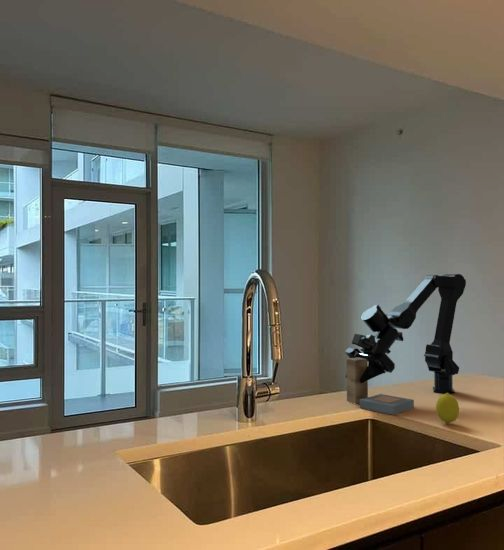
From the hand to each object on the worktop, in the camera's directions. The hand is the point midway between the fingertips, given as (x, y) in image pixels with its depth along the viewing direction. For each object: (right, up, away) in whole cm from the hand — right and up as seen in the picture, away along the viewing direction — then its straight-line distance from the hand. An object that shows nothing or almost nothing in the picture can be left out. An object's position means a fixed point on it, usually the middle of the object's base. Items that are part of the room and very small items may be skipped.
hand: (353, 380), depth 158 cm
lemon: (+19, -6, -25) cm, 32 cm away
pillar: (+1, -7, 0) cm, 7 cm away
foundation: (+8, -6, -8) cm, 13 cm away
